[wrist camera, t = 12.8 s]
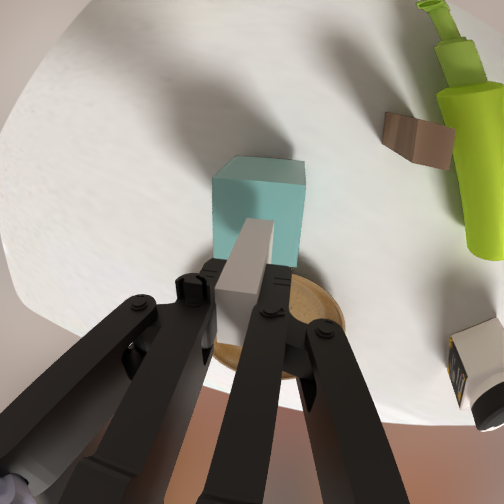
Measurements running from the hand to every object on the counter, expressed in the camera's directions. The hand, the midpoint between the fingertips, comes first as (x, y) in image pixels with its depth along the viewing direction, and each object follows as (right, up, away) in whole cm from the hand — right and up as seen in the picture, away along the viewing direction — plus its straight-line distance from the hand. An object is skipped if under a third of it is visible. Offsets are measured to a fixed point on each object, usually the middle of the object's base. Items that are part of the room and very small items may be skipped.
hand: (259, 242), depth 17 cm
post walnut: (+11, +9, +3) cm, 15 cm away
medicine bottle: (+27, -12, +12) cm, 32 cm away
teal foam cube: (+1, +4, +7) cm, 8 cm away
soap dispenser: (+20, 0, +3) cm, 21 cm away
